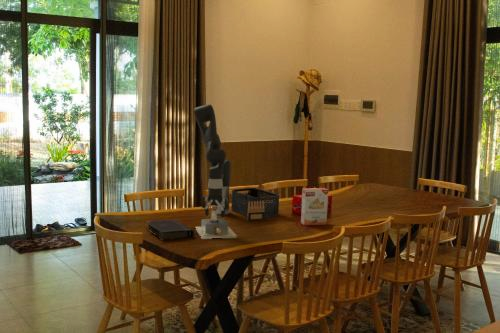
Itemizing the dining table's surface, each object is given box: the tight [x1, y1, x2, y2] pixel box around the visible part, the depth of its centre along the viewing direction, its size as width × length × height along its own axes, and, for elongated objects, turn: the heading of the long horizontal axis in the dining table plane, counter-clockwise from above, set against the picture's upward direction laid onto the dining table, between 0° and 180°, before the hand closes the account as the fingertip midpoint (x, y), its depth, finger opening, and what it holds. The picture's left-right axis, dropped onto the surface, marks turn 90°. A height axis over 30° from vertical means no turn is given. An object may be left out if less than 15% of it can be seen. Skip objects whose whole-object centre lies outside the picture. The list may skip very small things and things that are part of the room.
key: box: [209, 205, 218, 223], centre depth 302 cm, size 4×4×12 cm
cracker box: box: [300, 187, 329, 226], centre depth 325 cm, size 14×6×21 cm, turn 105°
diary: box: [145, 219, 195, 239], centre depth 298 cm, size 19×25×5 cm
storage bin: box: [230, 187, 280, 218], centre depth 351 cm, size 29×19×13 cm
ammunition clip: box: [246, 200, 266, 222], centre depth 331 cm, size 11×2×12 cm, turn 111°
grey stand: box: [195, 218, 238, 240], centre depth 300 cm, size 22×18×6 cm
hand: (214, 216), depth 302 cm, fingers open, 8 cm apart
